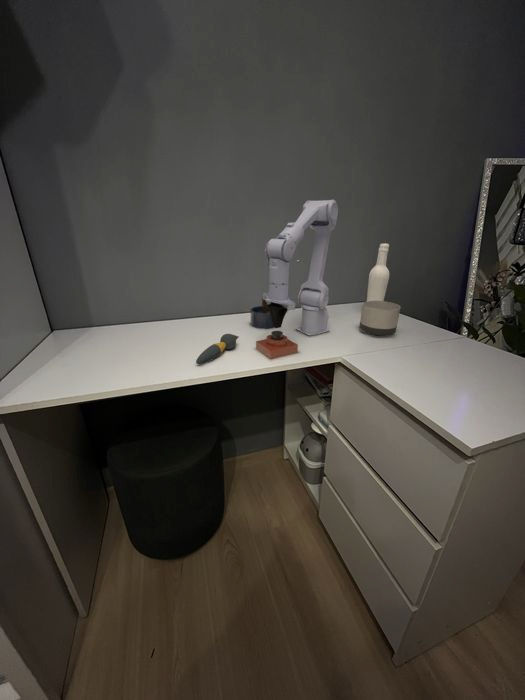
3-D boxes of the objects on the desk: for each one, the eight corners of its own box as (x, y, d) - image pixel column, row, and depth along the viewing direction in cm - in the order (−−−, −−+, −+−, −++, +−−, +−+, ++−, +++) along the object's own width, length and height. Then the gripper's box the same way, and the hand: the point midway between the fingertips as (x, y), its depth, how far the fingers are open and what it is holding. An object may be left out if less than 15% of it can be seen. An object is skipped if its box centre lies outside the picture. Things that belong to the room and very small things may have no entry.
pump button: (278, 335, 96) (278, 329, 95) (284, 339, 93) (285, 333, 92) (268, 337, 94) (269, 331, 93) (275, 341, 91) (275, 335, 90)
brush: (266, 319, 122) (267, 295, 118) (274, 323, 118) (274, 299, 114) (254, 321, 120) (254, 297, 116) (261, 325, 115) (262, 300, 111)
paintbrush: (207, 369, 83) (206, 353, 81) (193, 365, 85) (191, 349, 83) (242, 345, 99) (241, 330, 97) (229, 342, 101) (228, 328, 99)
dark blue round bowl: (268, 318, 126) (269, 304, 123) (283, 325, 117) (283, 311, 115) (246, 322, 121) (245, 308, 118) (259, 330, 112) (259, 315, 110)
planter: (372, 324, 120) (376, 299, 115) (402, 333, 110) (408, 306, 106) (351, 330, 113) (355, 303, 109) (381, 341, 103) (386, 312, 99)
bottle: (359, 313, 134) (370, 242, 121) (377, 313, 134) (389, 242, 122) (367, 319, 126) (379, 244, 114) (385, 318, 127) (399, 244, 115)
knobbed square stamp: (281, 343, 101) (282, 330, 99) (297, 352, 94) (298, 339, 92) (255, 348, 96) (255, 335, 94) (270, 359, 89) (270, 345, 87)
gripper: (254, 279, 90) (254, 322, 96) (280, 289, 79) (279, 336, 84) (274, 277, 94) (273, 319, 99) (302, 286, 82) (299, 332, 88)
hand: (277, 327), depth 92 cm, fingers closed
